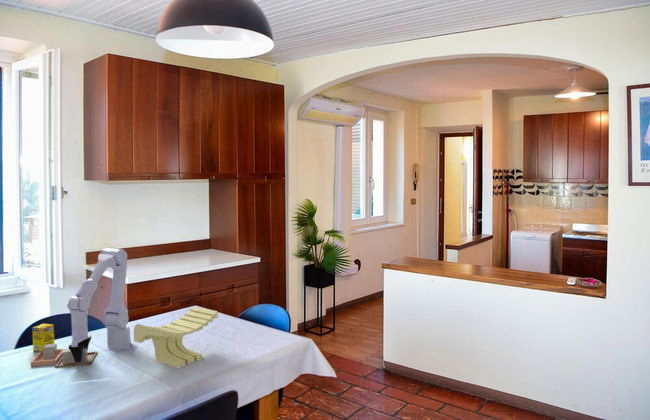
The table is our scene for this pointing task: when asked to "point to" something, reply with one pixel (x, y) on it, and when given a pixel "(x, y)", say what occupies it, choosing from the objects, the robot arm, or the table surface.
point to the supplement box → (42, 336)
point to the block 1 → (50, 351)
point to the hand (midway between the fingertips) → (80, 358)
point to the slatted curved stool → (175, 336)
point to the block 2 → (83, 356)
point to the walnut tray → (89, 361)
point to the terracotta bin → (43, 362)
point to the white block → (67, 357)
